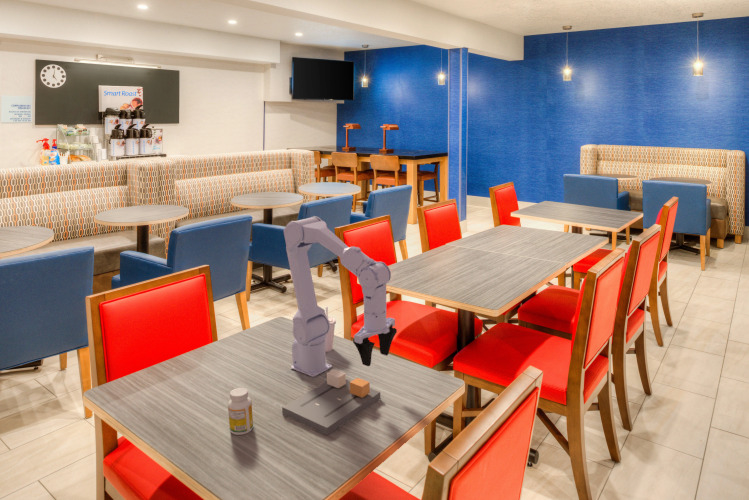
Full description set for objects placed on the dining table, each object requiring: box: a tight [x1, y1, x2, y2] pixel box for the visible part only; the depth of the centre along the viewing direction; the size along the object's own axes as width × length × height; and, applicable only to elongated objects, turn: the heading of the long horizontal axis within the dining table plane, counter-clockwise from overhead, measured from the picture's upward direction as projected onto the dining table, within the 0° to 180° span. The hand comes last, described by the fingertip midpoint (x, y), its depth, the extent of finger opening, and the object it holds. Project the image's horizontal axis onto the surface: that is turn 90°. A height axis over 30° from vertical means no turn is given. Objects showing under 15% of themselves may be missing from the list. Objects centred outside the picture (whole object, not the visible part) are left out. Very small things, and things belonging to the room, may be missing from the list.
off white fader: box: [326, 369, 347, 388], centre depth 138 cm, size 4×3×3 cm
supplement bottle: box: [227, 387, 254, 436], centre depth 122 cm, size 5×5×10 cm
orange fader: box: [350, 377, 370, 398], centre depth 133 cm, size 4×3×3 cm
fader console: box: [281, 378, 381, 436], centre depth 132 cm, size 15×20×2 cm
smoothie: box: [325, 306, 337, 353], centre depth 163 cm, size 6×6×14 cm
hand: (375, 359), depth 137 cm, fingers open, 7 cm apart
